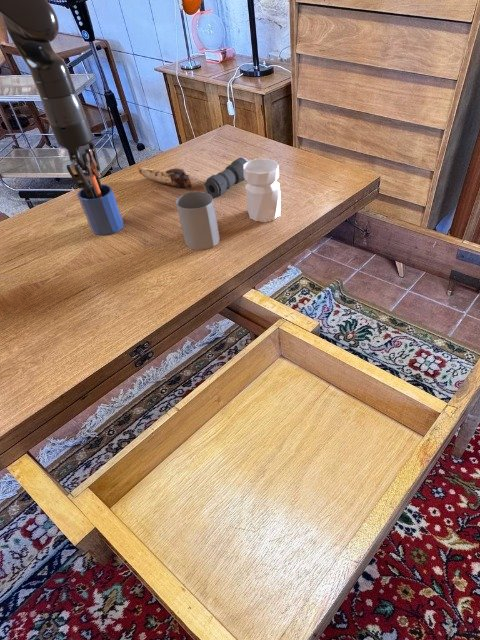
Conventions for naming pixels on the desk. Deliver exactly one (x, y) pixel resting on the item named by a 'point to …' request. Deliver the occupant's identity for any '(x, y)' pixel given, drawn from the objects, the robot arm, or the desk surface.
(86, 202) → the blue cup
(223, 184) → the flashlight
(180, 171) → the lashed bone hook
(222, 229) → the desk surface
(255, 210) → the vase
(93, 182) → the handle
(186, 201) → the cup
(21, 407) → the desk surface
